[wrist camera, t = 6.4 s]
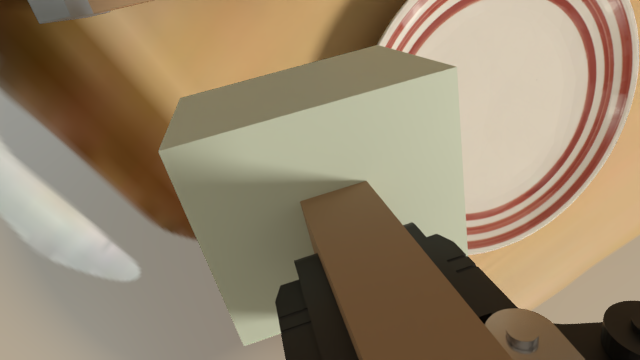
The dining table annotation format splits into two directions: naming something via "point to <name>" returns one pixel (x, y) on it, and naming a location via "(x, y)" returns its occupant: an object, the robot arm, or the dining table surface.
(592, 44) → the dinner plate
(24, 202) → the dining table surface
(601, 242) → the dining table surface
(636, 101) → the dining table surface
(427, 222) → the green and brown blocks
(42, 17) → the board
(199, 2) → the dining table surface
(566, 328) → the robot arm
